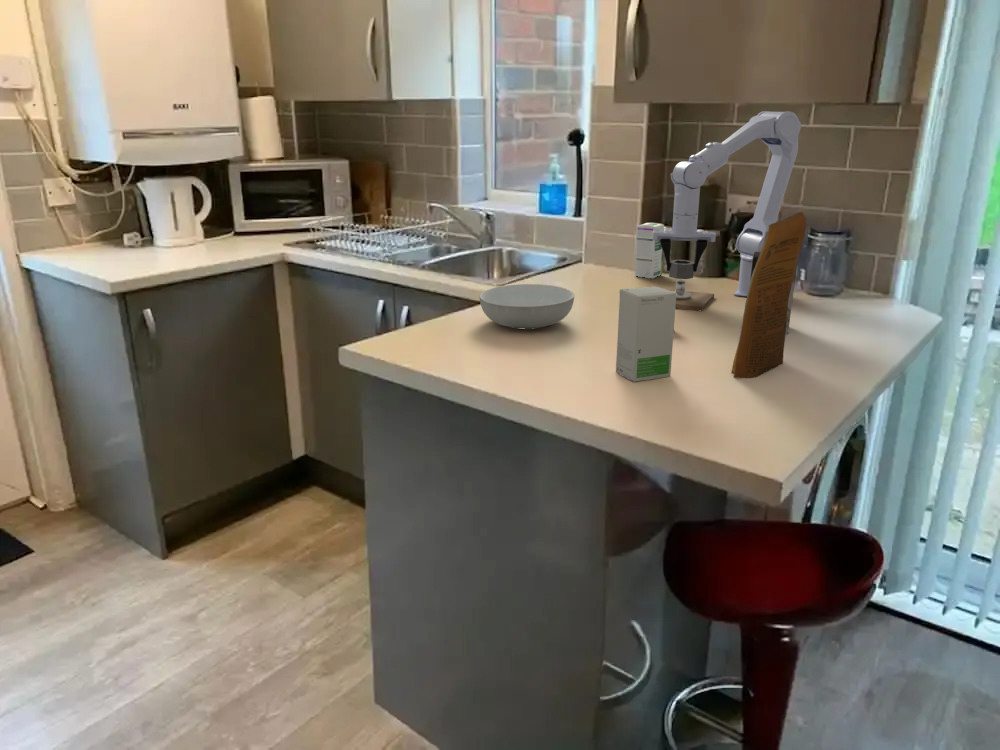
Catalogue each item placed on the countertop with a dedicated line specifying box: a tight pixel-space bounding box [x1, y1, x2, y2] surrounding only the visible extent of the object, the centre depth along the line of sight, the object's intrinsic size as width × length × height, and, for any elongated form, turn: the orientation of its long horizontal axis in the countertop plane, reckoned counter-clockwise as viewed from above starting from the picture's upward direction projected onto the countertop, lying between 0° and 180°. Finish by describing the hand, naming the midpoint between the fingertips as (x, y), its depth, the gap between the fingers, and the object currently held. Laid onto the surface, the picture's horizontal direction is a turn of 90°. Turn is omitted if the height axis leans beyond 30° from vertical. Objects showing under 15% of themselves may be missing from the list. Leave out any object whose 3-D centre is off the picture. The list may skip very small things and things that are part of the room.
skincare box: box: [615, 286, 677, 383], centre depth 140 cm, size 8×7×16 cm
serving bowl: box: [478, 283, 575, 330], centre depth 173 cm, size 21×21×7 cm
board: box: [665, 288, 715, 312], centre depth 192 cm, size 14×14×1 cm
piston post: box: [673, 279, 691, 300], centre depth 191 cm, size 5×5×4 cm
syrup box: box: [634, 222, 665, 279], centre depth 217 cm, size 6×6×14 cm
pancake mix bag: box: [731, 211, 807, 379], centre depth 140 cm, size 7×19×28 cm, turn 135°
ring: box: [668, 259, 694, 280], centre depth 190 cm, size 6×6×4 cm
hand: (681, 270), depth 190 cm, fingers closed on ring, 6 cm apart
